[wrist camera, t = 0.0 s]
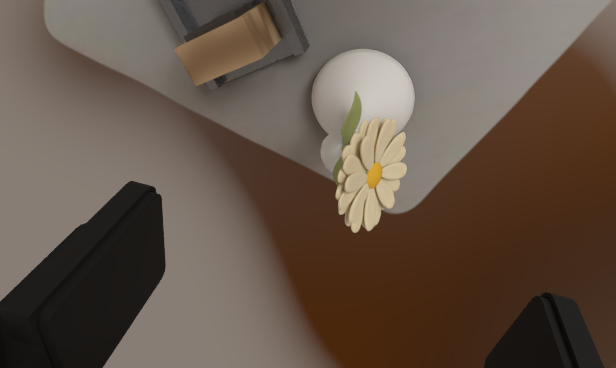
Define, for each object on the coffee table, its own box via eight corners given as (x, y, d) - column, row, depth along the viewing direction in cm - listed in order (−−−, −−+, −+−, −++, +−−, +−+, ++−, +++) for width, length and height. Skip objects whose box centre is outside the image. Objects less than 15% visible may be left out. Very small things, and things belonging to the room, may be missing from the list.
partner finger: (200, 25, 45) (170, 43, 39) (262, -5, 42) (239, 9, 36) (221, 64, 47) (195, 86, 41) (281, 38, 44) (262, 58, 38)
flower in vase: (392, 151, 50) (381, 319, 29) (304, 122, 50) (232, 269, 30) (438, 48, 42) (466, 179, 22) (333, 14, 42) (264, 113, 22)
